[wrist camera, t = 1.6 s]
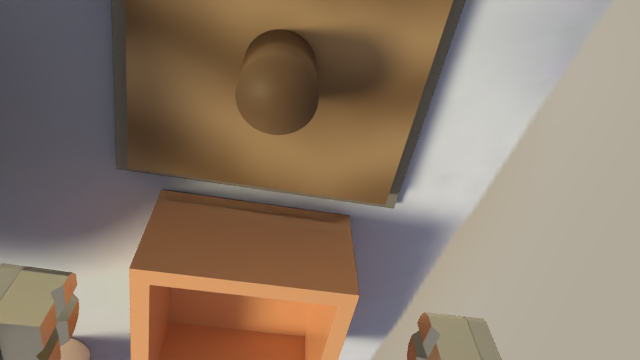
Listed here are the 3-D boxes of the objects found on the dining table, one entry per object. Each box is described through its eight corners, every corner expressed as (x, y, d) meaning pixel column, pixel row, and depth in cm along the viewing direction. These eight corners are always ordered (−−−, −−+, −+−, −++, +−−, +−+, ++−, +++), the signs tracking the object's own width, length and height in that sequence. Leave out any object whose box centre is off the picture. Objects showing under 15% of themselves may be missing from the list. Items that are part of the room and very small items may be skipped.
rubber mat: (110, -180, 21) (105, -180, 20) (492, -91, 23) (496, -90, 22) (119, 163, 30) (116, 168, 29) (392, 202, 32) (393, 208, 32)
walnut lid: (131, -146, 21) (86, -145, 17) (467, -70, 23) (506, -52, 19) (133, 157, 29) (104, 211, 25) (382, 193, 31) (395, 249, 27)
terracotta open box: (161, 189, 31) (129, 268, 25) (349, 215, 33) (359, 295, 27) (158, 319, 37) (131, 405, 32) (314, 335, 39) (317, 421, 33)
